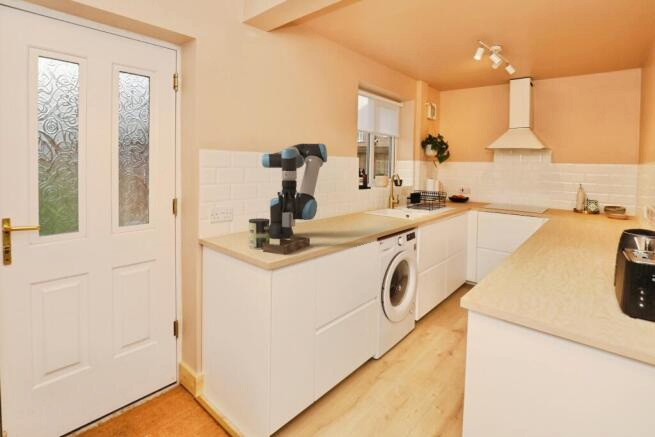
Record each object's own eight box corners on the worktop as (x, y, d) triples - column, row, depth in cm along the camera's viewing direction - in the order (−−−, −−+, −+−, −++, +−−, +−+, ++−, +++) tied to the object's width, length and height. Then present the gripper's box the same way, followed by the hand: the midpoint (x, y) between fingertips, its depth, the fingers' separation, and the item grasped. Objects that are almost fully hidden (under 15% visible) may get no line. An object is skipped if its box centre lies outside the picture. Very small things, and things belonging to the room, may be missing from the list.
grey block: (288, 225, 191) (289, 212, 190) (295, 225, 189) (295, 212, 189) (282, 226, 186) (282, 212, 185) (288, 227, 184) (288, 213, 183)
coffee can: (272, 245, 189) (272, 218, 187) (265, 249, 179) (265, 221, 177) (254, 244, 191) (253, 217, 189) (245, 248, 181) (245, 220, 179)
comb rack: (290, 243, 195) (290, 235, 195) (309, 245, 190) (309, 238, 189) (263, 251, 175) (263, 243, 174) (283, 254, 169) (283, 246, 169)
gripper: (271, 179, 186) (271, 224, 189) (299, 180, 178) (299, 227, 181) (279, 179, 192) (280, 223, 195) (307, 180, 184) (307, 225, 187)
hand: (289, 225), depth 188 cm, fingers closed on grey block, 4 cm apart
